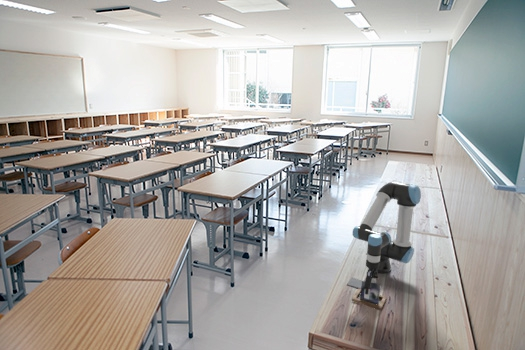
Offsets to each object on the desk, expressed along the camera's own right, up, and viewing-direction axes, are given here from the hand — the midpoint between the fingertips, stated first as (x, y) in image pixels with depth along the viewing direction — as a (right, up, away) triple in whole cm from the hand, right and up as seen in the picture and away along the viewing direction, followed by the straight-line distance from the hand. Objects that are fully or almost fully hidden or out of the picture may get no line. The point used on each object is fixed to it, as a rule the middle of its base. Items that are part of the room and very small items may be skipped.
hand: (369, 292), depth 202 cm
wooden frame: (0, -5, +1) cm, 5 cm away
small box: (0, -5, +1) cm, 5 cm away
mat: (-2, -1, +19) cm, 19 cm away
